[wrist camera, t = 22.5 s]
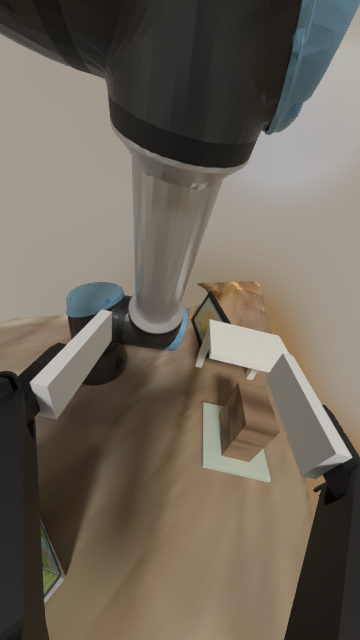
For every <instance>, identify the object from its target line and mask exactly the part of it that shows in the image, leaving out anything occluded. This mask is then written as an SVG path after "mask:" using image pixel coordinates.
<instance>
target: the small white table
mask: <svg viewBox="0 0 360 640" xmlns="http://www.w3.org/2000/svg"><path fill="white" fill-rule="evenodd" d="M208 350H209V358H210V359H214V360H218V361H222V362H227V363H231V364H235V365H239V366H243V367H248V370H247V371H246V373H245V376H246V379H250V380H253V378H254V376H255V375H256V373H257V372H258V370H260V371H264V372H270V371H271V369H272V368H273V366H274V365H275V363H276V362H277V361H278V359H279V358H280V356H281V355H282V354H283V353H285V354H289V353H288V351H287V350H286V348H285V346H284V344H283V342H282V341H281V339H280V337H279V336H277V335H273V334H269V333H265V332H261V331H256V330H252V329H248V328H244V327H240V326H236V325H232V324H228V323H224V322H219V321H215V320H211V319H210V320H209V322H208V329H207V332H206V335H205V337H204V340H203V343H202V346H201V348H200V351H199V354H198V357H197V359H196V362H195V367H200V368H201V367H202V365H203V362H204V360H205V357H206V355H207V352H208ZM289 355H290V354H289Z"/></svg>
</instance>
